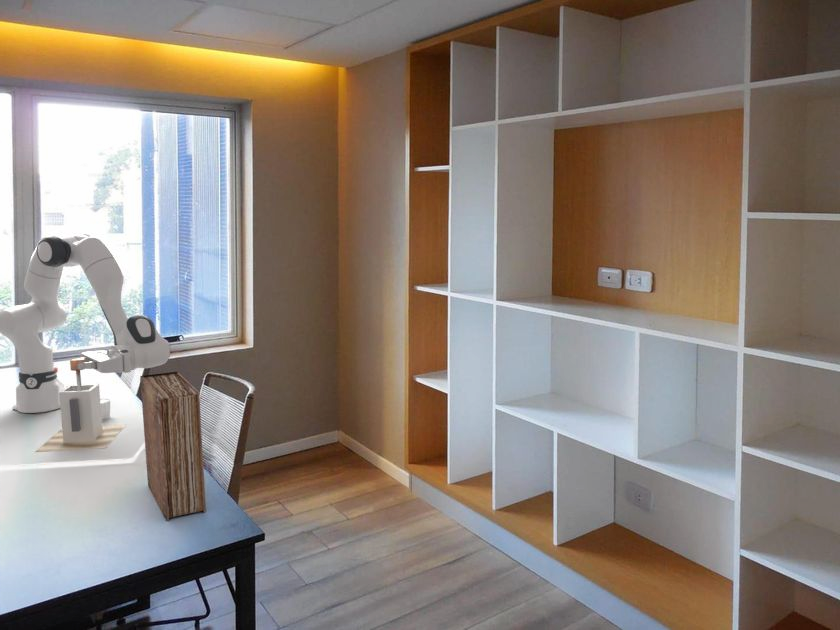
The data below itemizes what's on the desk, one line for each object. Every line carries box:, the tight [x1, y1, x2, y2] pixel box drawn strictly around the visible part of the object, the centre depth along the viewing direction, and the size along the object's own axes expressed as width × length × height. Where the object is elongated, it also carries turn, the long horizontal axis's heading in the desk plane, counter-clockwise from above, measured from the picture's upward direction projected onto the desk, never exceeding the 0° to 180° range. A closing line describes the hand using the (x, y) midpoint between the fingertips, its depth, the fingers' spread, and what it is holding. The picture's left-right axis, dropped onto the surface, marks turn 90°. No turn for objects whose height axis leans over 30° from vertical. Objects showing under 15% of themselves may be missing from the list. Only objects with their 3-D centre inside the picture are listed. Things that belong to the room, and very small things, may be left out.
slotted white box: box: [59, 383, 103, 443], centre depth 220 cm, size 11×9×16 cm
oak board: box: [35, 423, 127, 453], centre depth 222 cm, size 24×20×1 cm
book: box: [139, 371, 207, 522], centre depth 175 cm, size 25×9×30 cm, turn 30°
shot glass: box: [100, 398, 111, 420], centre depth 243 cm, size 7×7×7 cm
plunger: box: [69, 357, 85, 391], centre depth 220 cm, size 6×6×24 cm
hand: (74, 364), depth 218 cm, fingers closed on plunger, 4 cm apart
